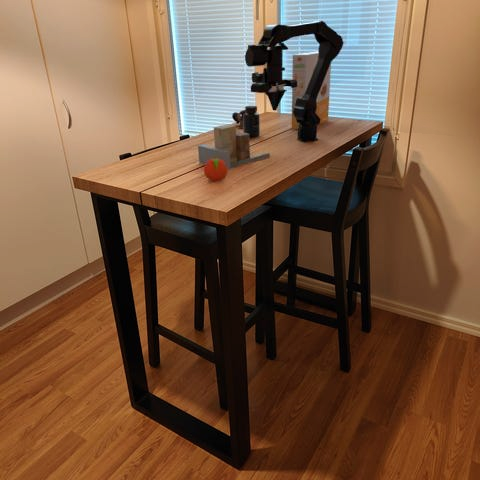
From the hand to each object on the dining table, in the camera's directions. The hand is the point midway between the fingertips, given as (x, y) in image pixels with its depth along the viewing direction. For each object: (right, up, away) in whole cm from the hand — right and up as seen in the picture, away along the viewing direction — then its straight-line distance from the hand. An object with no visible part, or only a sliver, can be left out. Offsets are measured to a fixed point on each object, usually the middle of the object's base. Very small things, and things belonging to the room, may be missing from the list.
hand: (274, 110), depth 157 cm
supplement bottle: (-8, -4, +22) cm, 23 cm away
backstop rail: (-14, -20, -10) cm, 26 cm away
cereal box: (+19, +4, +37) cm, 42 cm away
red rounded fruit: (-20, -31, -30) cm, 47 cm away
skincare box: (-17, -22, -13) cm, 31 cm away
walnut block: (-14, -20, -10) cm, 26 cm away
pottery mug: (-11, +5, +40) cm, 42 cm away
